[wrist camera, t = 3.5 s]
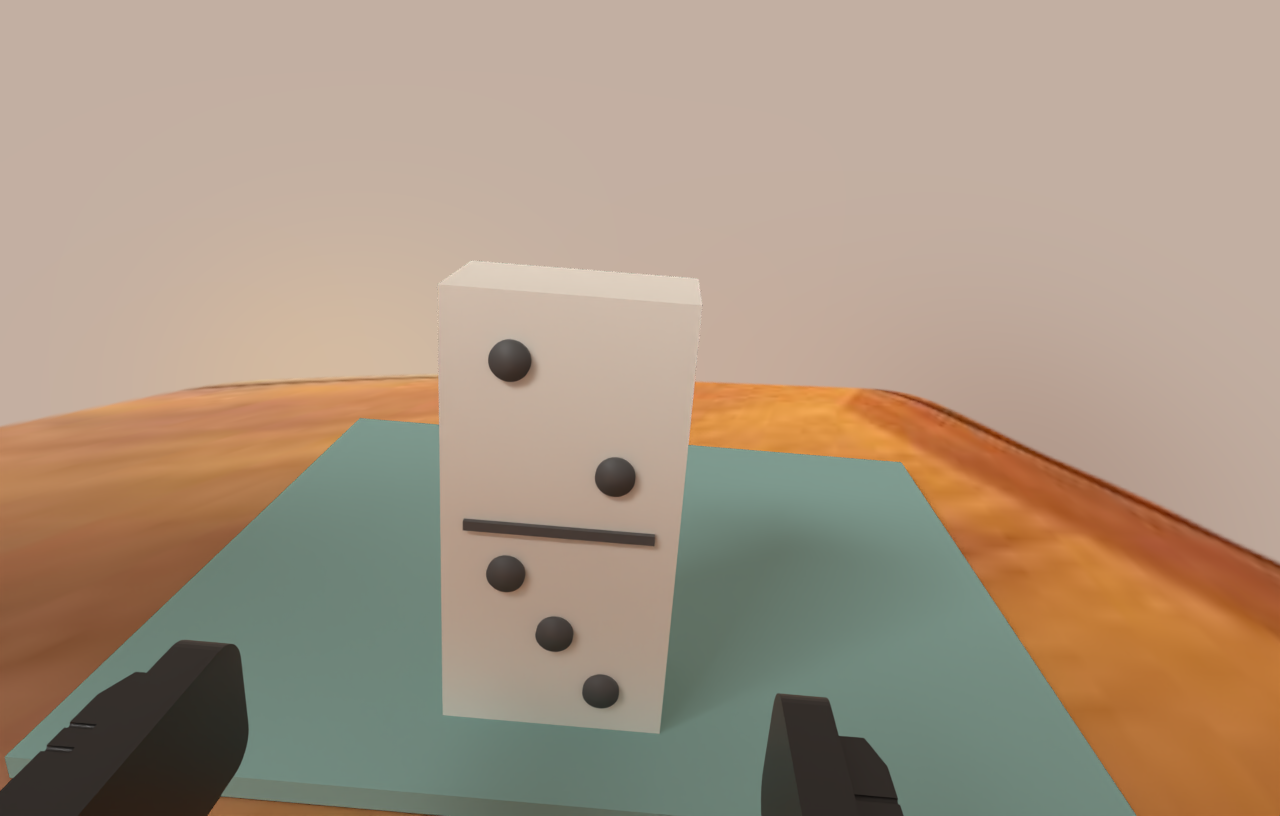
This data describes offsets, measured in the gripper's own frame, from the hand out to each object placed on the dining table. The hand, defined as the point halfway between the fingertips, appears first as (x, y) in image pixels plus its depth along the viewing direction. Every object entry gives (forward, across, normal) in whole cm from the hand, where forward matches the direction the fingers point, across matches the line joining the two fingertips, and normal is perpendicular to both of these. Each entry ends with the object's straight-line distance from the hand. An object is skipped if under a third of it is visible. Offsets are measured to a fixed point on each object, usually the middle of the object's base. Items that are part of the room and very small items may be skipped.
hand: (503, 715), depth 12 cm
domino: (+8, 0, +6) cm, 10 cm away
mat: (+15, -1, +7) cm, 17 cm away
